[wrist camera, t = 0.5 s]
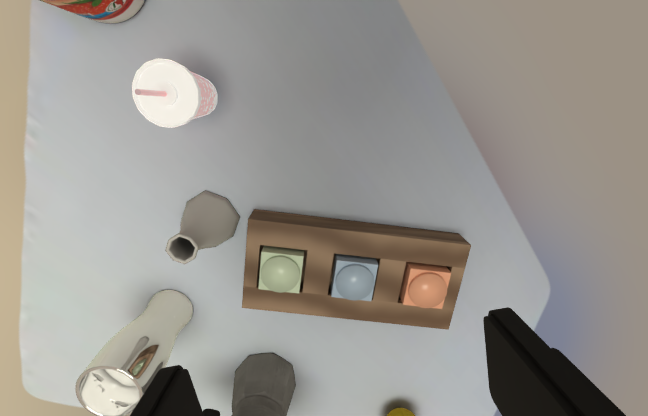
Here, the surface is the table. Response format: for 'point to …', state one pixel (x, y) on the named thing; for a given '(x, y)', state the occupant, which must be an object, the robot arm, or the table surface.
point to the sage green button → (281, 269)
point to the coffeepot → (261, 387)
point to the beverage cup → (172, 93)
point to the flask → (203, 226)
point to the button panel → (358, 240)
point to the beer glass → (133, 357)
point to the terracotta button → (424, 285)
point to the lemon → (400, 412)
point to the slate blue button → (353, 277)
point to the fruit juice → (100, 8)
